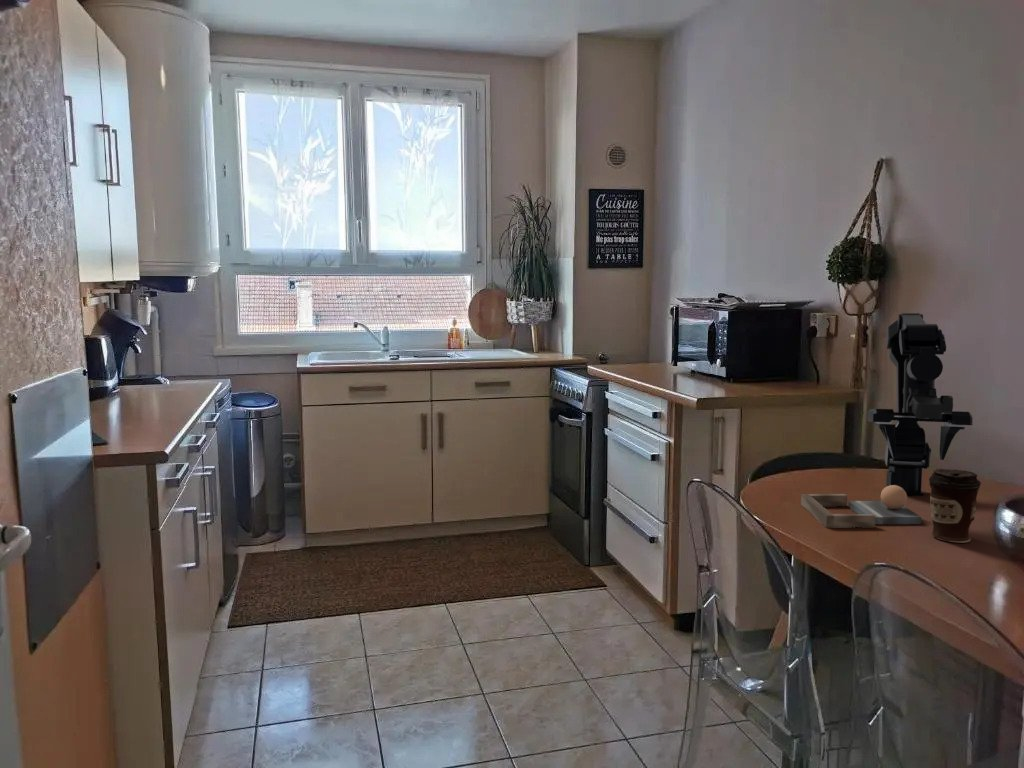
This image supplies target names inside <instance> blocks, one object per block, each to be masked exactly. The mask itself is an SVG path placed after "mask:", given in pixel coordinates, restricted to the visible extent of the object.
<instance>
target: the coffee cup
mask: <svg viewBox="0 0 1024 768" xmlns="http://www.w3.org/2000/svg"><path fill="white" fill-rule="evenodd" d="M928 481H929V487H930V491H931V492H930V494H929V498H930V499H929V506H930V519H931V521H932V527H933V528H932V529H933V530H932V533H931V534H932V537H933V538H936V539H938V540H939V541H941V540H942V541H945V542H949V543H958V544H959V543H961V544H965V543H969V542H971V540H972V539H971V536H970V534H969V532H970V531H969V530H970V527H971V525H972V523H973V521H975V515H976V511H977V506H978V504H977V496H978V494H979V492H980V491H979V490H980V487H981V483H982V482H981V481H980V480H979V479H978V474H977V473H975V472H972V471H968V470H962V469H946V468H937V469H934V470H933V472H932V474H931V475H930V476H929V478H928Z"/></svg>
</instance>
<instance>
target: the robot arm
mask: <svg viewBox="0 0 1024 768" xmlns="http://www.w3.org/2000/svg"><path fill="white" fill-rule="evenodd" d="M886 332H887V333H886V337H885V341H886V342H885V347H886V350H888V357H889V360H890V361H891V362H892V364H893V365H894V366H895V367H896V411H894V409H893V408H892V409H891V408H870V409H869V410H868V412H867V420H866V421H867V422H870V423H872V422H873V425H874V427H878V428H879V430H880V432H881V434H882V436H883V437H884V439H885V441H886V447H885V451H884V452H885V453H884V463H885V466H886V467H888V470H886V478H885V479H886V481H885V482H886V483H885V484H886V485H885V486H884V488H885V487H887V486H890V485H896V486H899V487H901V488H902V489H904V491H905V492H906V494H907V496H908V495H914V496H915V495H925V494H926V493H925V491H924V490H922V488H923V487H922V485H923V484H922V483H923V469H924V470H926V469H928V468H930V460H931V455H932V448H930V445H929V442H927V441H926V431H925V429H924V428H923V427H921V426H920V425H919V423H918V422H927V423H929V422H930V423H944V425H941V426H940V433H939V434H940V436H939V439H940V440H939V460H940V461H944V460H945V458H946V455H947V454H948V451H949V448H950V446H951V444H952V442H953V440H954V437H955V436H956V435H957V433H958V432H959V431H960V430H965V429H966V428H965V426H973V415H972V413H971V412H970V411H960V410H959V411H957V410H956V411H954V410H953V409H954V398H953V396H952V395H940V397H938V396H937V388H936V387H935V383H936V382H935V381H936V379H938V377H940V375H941V374H942V372H943V369H944V365H943V362H942V360H941V358H940V357H939V356H943V355H944V354H945V353H946V352H947V344H946V338H945V334H944V333H943V331H942V329H940V328H939V326H938V324H937V323H927V322H925V320H924V314H922V313H919V312H911V313H910V312H906V313H905V312H901V313H900V314H898V315H897V320H896V321H894V322H893V323H892V324H890V325H889V326H888V327H887V331H886ZM893 421H896V424H894V423H893Z"/></svg>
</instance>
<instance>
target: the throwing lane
mask: <svg viewBox="0 0 1024 768" xmlns="http://www.w3.org/2000/svg"><path fill="white" fill-rule="evenodd" d="M800 497H801V498H800V505H802V506H801V507H802V508H803V509H805V508H806V509H807V510H806V509H805V510H806V511H807V512H808V511H809V512H810V513H811V514H812V515H811V514H810V513H809V512H808V513H809V514H810V515H811V516H813V517H814V518H815V519H816V520H817V521H818V523H820V524H821V525H822V526H824V527H825V528H827V529H829V528H830V529H833V528H834V529H837V528H838V529H839V528H841V529H842V528H843V529H850V528H851V529H854V528H855V527H859V528H858V529H861V528H860V527H862V529H864V528H866V529H867V528H868V529H869V528H870V529H871V528H872V529H873V528H876V525H921V524H922V516H920V515H918V513H917V512H914V511H913V510H911V509H909V508H908V507H907V506H905V505H904V506H903V507H901V508H899V509H890V508H888V507H886V506H885V505H884V504H883V503H882V501H881V500H848V495H847V494H846V493H815V494H814V493H801V495H800ZM823 506H824V507H823ZM837 506H842V507H848V509H849V508H850V510H851V511H852V512H853V511H854V512H853V513H832V512H831V511H830V510H828V509H827V508H825V507H829V508H830V507H833V508H834V507H835V508H836V507H837ZM856 513H857V514H856ZM852 527H853V528H852ZM855 529H856V528H855Z"/></svg>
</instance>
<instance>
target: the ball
mask: <svg viewBox="0 0 1024 768" xmlns="http://www.w3.org/2000/svg"><path fill="white" fill-rule="evenodd" d="M880 501H882V503H883V504H884V505H885V506H886V507H888V508H890V509H899V508H901V507H903V506H905V505H907V501H908V495H907V494H906V492H905V491H904V489H902V488H901V487H899V486H896V485H890V486H887V487H885V486H884V488H883V489H882V490H881V493H880Z"/></svg>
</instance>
